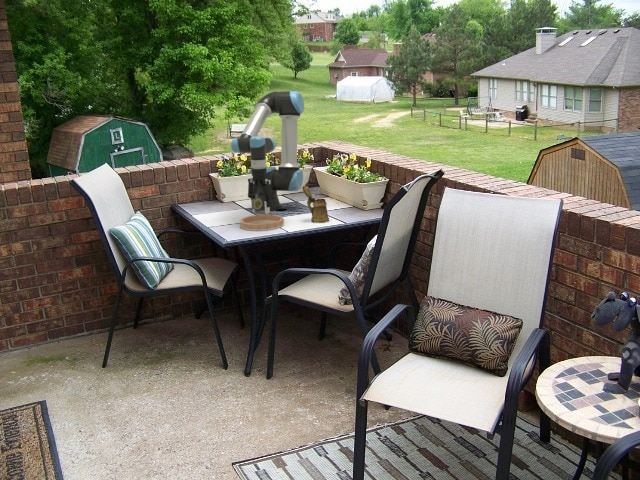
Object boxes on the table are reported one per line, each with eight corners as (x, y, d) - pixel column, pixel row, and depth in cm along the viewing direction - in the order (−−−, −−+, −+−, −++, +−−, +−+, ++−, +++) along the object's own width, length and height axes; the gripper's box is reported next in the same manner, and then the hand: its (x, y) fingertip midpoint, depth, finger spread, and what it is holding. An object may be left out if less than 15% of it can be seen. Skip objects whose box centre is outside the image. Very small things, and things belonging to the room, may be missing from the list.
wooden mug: (306, 218, 369) (305, 184, 364) (331, 219, 364) (330, 185, 360) (301, 222, 361) (299, 187, 356) (325, 223, 356) (324, 188, 352)
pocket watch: (266, 214, 350) (265, 195, 347) (250, 214, 352) (249, 194, 349) (270, 211, 358) (270, 191, 355) (255, 210, 359) (254, 191, 357)
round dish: (231, 227, 354) (230, 221, 353) (260, 218, 371) (259, 212, 370) (264, 232, 341) (263, 226, 340) (292, 223, 358) (292, 217, 357)
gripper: (238, 167, 351) (241, 211, 357) (269, 170, 340) (271, 216, 345) (248, 165, 357) (251, 209, 363) (279, 168, 345) (281, 213, 351)
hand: (261, 212), depth 354 cm, fingers closed on pocket watch, 8 cm apart
